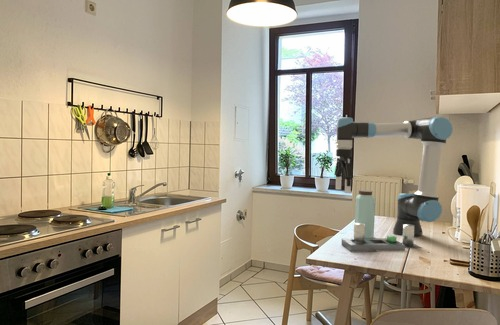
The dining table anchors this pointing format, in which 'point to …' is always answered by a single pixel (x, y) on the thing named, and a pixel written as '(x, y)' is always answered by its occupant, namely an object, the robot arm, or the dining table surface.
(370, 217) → the water bottle
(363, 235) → the cylinder
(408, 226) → the billet
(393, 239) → the button
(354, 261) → the dining table surface
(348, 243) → the tray
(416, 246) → the pad
